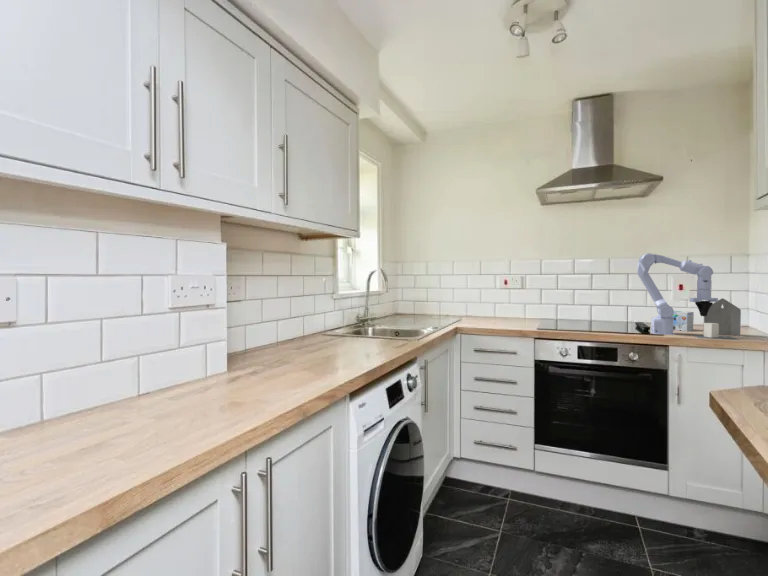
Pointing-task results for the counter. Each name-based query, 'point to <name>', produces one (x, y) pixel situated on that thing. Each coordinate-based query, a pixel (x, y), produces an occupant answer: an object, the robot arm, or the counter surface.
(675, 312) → the light bulb box
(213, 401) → the counter surface
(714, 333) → the cream block
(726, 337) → the rubber mat
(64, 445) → the counter surface
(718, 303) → the gray chamfered slab
